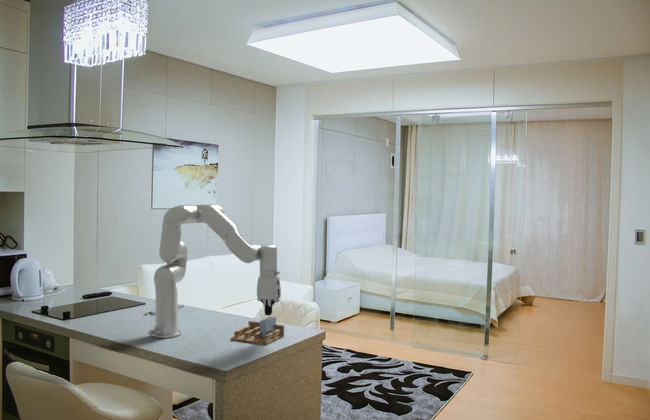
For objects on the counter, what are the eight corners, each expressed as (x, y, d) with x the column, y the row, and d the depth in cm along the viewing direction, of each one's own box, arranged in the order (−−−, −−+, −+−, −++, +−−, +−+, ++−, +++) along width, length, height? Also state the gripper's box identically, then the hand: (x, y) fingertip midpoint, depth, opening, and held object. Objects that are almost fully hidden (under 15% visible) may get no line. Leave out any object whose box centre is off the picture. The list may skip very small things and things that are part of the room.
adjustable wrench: (181, 307, 292) (181, 304, 292) (189, 309, 288) (189, 305, 288) (143, 315, 271) (143, 311, 271) (151, 316, 268) (151, 313, 268)
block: (265, 339, 222) (266, 321, 222) (259, 339, 223) (260, 320, 223) (275, 334, 230) (276, 317, 230) (270, 334, 231) (270, 316, 231)
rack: (266, 345, 217) (266, 333, 217) (230, 340, 224) (230, 328, 224) (284, 336, 232) (284, 325, 232) (249, 331, 239) (249, 320, 239)
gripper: (287, 273, 226) (287, 314, 227) (258, 271, 232) (258, 311, 232) (279, 275, 219) (279, 318, 220) (249, 273, 225) (249, 315, 226)
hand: (268, 314), depth 226 cm, fingers closed
